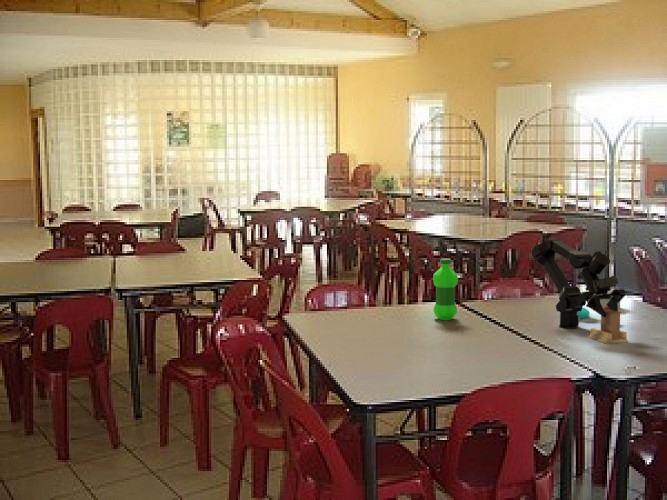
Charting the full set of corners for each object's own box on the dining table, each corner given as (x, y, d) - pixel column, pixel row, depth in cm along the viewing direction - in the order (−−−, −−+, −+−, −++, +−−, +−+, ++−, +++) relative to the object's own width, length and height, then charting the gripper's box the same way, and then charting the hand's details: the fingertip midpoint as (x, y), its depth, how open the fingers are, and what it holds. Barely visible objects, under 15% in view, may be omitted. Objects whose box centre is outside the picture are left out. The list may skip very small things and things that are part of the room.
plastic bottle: (456, 316, 334) (457, 257, 331) (458, 321, 323) (458, 261, 320) (432, 316, 335) (433, 257, 332) (433, 321, 324) (433, 260, 321)
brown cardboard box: (600, 336, 292) (601, 310, 291) (608, 335, 293) (609, 309, 292) (611, 340, 287) (612, 313, 285) (619, 339, 288) (620, 312, 287)
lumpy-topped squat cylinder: (588, 309, 347) (589, 289, 345) (603, 304, 356) (603, 285, 354) (611, 312, 339) (612, 292, 338) (625, 308, 348) (626, 288, 347)
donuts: (562, 290, 335) (586, 290, 335) (561, 314, 337) (585, 314, 336) (568, 295, 325) (593, 295, 325) (568, 319, 327) (592, 319, 326)
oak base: (589, 337, 294) (589, 328, 294) (609, 335, 297) (609, 326, 297) (607, 343, 285) (607, 334, 284) (627, 341, 288) (627, 332, 287)
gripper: (582, 270, 288) (601, 305, 279) (624, 267, 295) (644, 301, 286) (568, 288, 297) (586, 323, 288) (609, 284, 303) (628, 318, 294)
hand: (611, 316), depth 289 cm, fingers open, 5 cm apart
